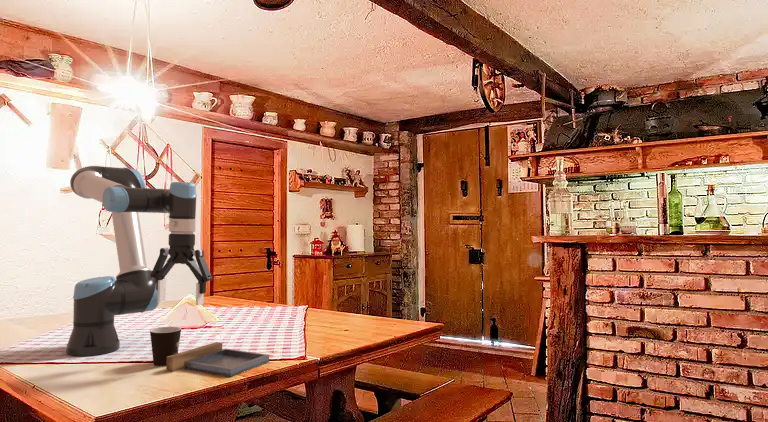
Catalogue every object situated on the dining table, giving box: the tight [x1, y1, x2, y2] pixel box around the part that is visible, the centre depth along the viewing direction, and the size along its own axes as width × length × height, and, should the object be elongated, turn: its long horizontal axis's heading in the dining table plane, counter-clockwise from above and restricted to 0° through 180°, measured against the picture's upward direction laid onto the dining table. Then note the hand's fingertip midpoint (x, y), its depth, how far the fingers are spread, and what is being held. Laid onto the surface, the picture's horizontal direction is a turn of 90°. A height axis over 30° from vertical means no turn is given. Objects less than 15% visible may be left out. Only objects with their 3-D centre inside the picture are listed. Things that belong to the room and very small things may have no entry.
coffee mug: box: [149, 326, 182, 367], centre depth 158 cm, size 12×9×10 cm
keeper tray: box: [183, 347, 270, 378], centre depth 155 cm, size 17×17×2 cm
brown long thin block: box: [165, 341, 223, 373], centre depth 158 cm, size 2×20×4 cm, turn 155°
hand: (180, 302), depth 159 cm, fingers open, 13 cm apart
